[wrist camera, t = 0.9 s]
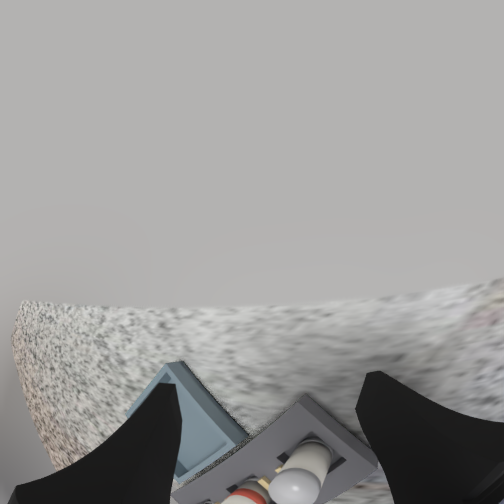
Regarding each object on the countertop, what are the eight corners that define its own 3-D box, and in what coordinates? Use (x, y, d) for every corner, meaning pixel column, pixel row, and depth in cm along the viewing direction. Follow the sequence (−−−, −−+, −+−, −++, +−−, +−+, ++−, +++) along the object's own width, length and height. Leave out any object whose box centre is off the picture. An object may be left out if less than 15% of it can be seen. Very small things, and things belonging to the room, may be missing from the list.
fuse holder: (377, 454, 16) (377, 472, 13) (234, 533, 17) (221, 546, 14) (305, 393, 20) (295, 404, 17) (182, 486, 21) (166, 496, 19)
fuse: (342, 452, 16) (328, 495, 10) (314, 472, 16) (291, 514, 11) (315, 429, 18) (293, 467, 12) (288, 450, 18) (258, 488, 12)
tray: (248, 435, 21) (236, 445, 18) (192, 475, 21) (179, 483, 19) (182, 360, 25) (166, 363, 23) (140, 410, 26) (125, 414, 24)
